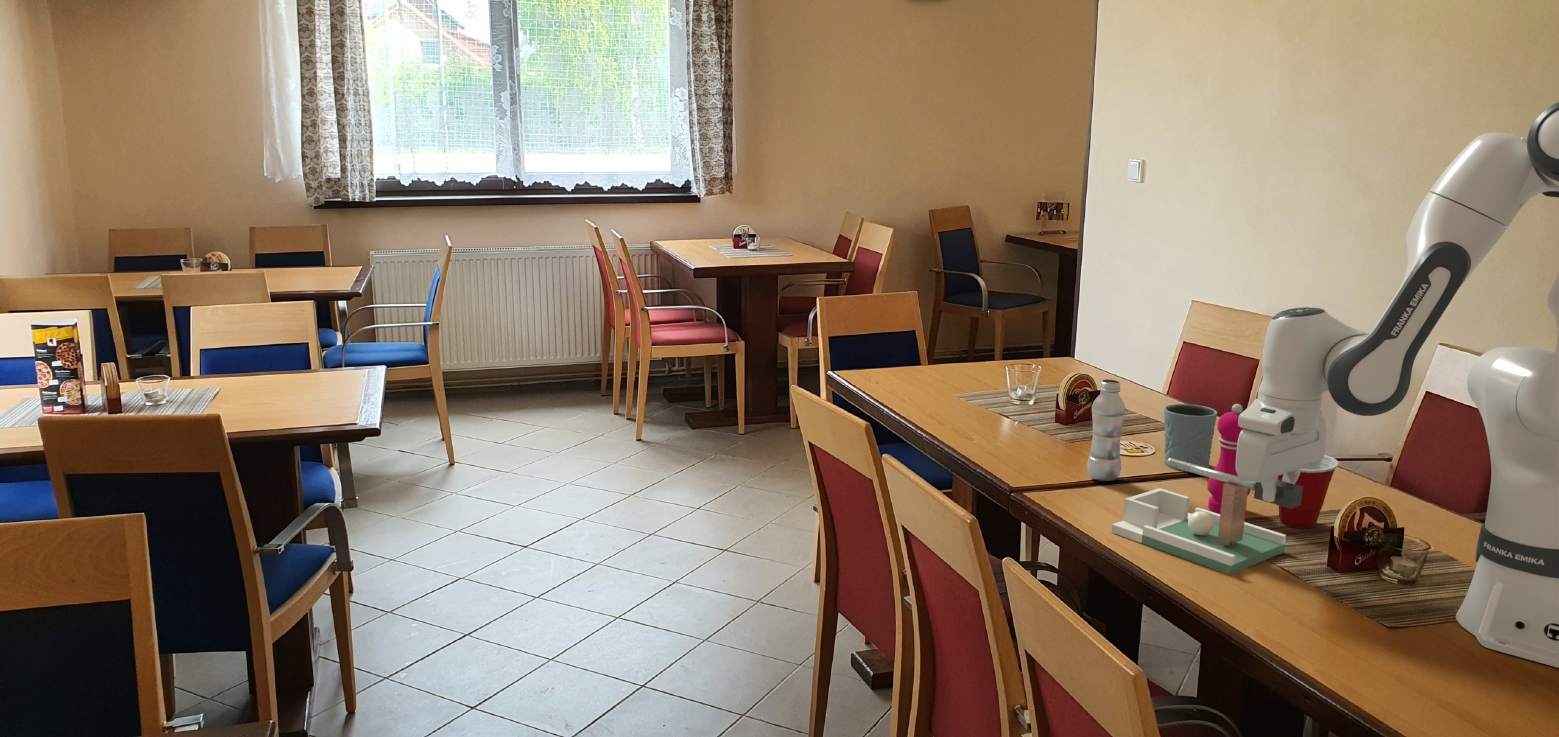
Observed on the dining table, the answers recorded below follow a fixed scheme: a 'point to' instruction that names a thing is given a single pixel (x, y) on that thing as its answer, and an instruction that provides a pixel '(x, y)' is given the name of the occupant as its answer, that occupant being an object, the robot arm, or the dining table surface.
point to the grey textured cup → (1189, 433)
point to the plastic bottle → (1106, 432)
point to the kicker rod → (1239, 498)
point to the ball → (1200, 523)
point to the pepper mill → (1225, 455)
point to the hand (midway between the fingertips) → (1277, 497)
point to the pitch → (1166, 528)
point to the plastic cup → (1309, 494)
